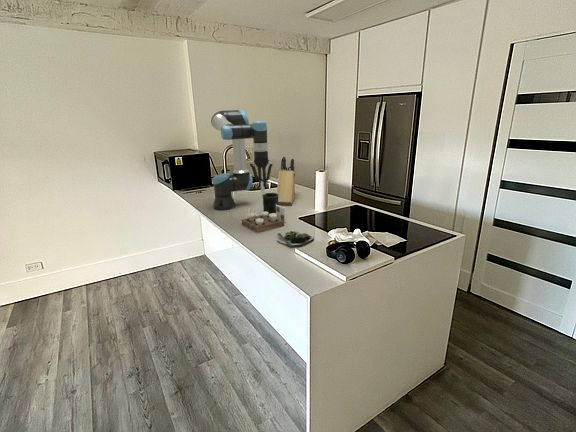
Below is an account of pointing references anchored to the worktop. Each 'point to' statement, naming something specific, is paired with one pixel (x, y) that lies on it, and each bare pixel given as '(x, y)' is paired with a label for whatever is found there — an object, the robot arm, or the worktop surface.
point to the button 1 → (251, 217)
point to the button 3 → (264, 214)
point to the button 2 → (259, 221)
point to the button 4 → (273, 217)
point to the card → (280, 213)
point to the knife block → (286, 183)
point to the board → (266, 225)
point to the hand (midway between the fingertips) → (262, 192)
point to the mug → (270, 202)
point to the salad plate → (295, 238)
